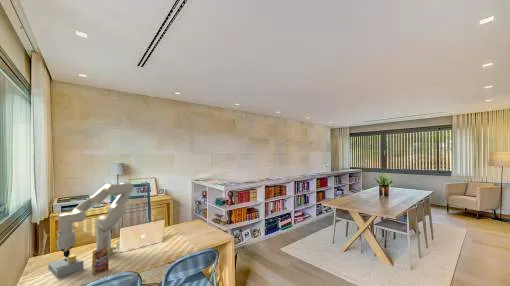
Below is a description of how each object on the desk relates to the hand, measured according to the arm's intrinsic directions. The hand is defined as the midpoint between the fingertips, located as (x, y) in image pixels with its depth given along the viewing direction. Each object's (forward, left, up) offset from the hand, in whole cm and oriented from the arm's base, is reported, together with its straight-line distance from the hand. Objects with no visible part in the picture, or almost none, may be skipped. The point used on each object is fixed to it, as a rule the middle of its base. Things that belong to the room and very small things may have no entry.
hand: (66, 256), depth 159 cm
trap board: (+1, 0, -8) cm, 8 cm away
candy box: (-12, +25, -8) cm, 29 cm away
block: (-3, 0, -5) cm, 5 cm away
